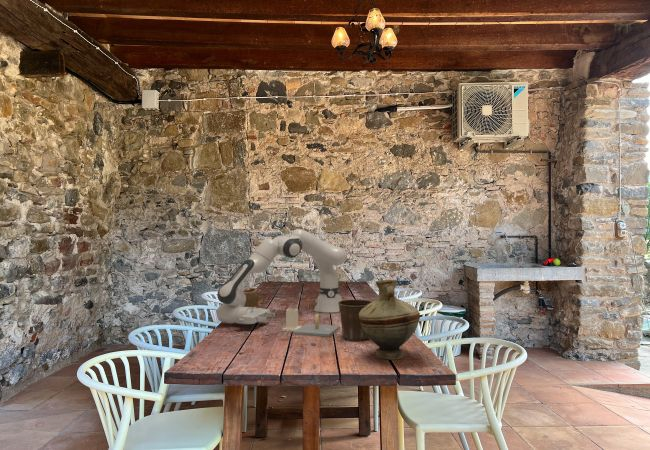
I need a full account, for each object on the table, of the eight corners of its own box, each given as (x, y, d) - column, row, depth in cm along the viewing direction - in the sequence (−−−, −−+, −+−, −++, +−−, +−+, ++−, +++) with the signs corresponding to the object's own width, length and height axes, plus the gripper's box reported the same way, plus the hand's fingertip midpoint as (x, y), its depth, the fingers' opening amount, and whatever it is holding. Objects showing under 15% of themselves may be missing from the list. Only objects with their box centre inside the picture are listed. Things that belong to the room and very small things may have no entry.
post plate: (292, 334, 204) (292, 316, 204) (306, 326, 221) (306, 310, 221) (329, 336, 198) (329, 319, 199) (339, 328, 216) (339, 311, 216)
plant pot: (372, 343, 187) (371, 306, 187) (335, 341, 191) (335, 305, 191) (375, 334, 203) (374, 299, 203) (341, 332, 206) (341, 299, 207)
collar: (282, 330, 211) (282, 310, 212) (288, 327, 219) (288, 307, 219) (296, 331, 209) (296, 311, 209) (302, 328, 216) (301, 308, 216)
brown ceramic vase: (383, 346, 185) (375, 276, 186) (435, 350, 170) (425, 274, 171) (352, 362, 166) (342, 285, 167) (406, 369, 151) (396, 283, 152)
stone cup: (238, 316, 249) (238, 290, 249) (241, 312, 261) (241, 287, 261) (264, 315, 249) (264, 289, 249) (266, 311, 261) (266, 286, 261)
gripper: (235, 313, 212) (261, 314, 208) (255, 306, 232) (278, 307, 227) (235, 326, 212) (261, 327, 208) (255, 317, 231) (278, 319, 227)
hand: (270, 317), depth 218 cm, fingers open, 8 cm apart
